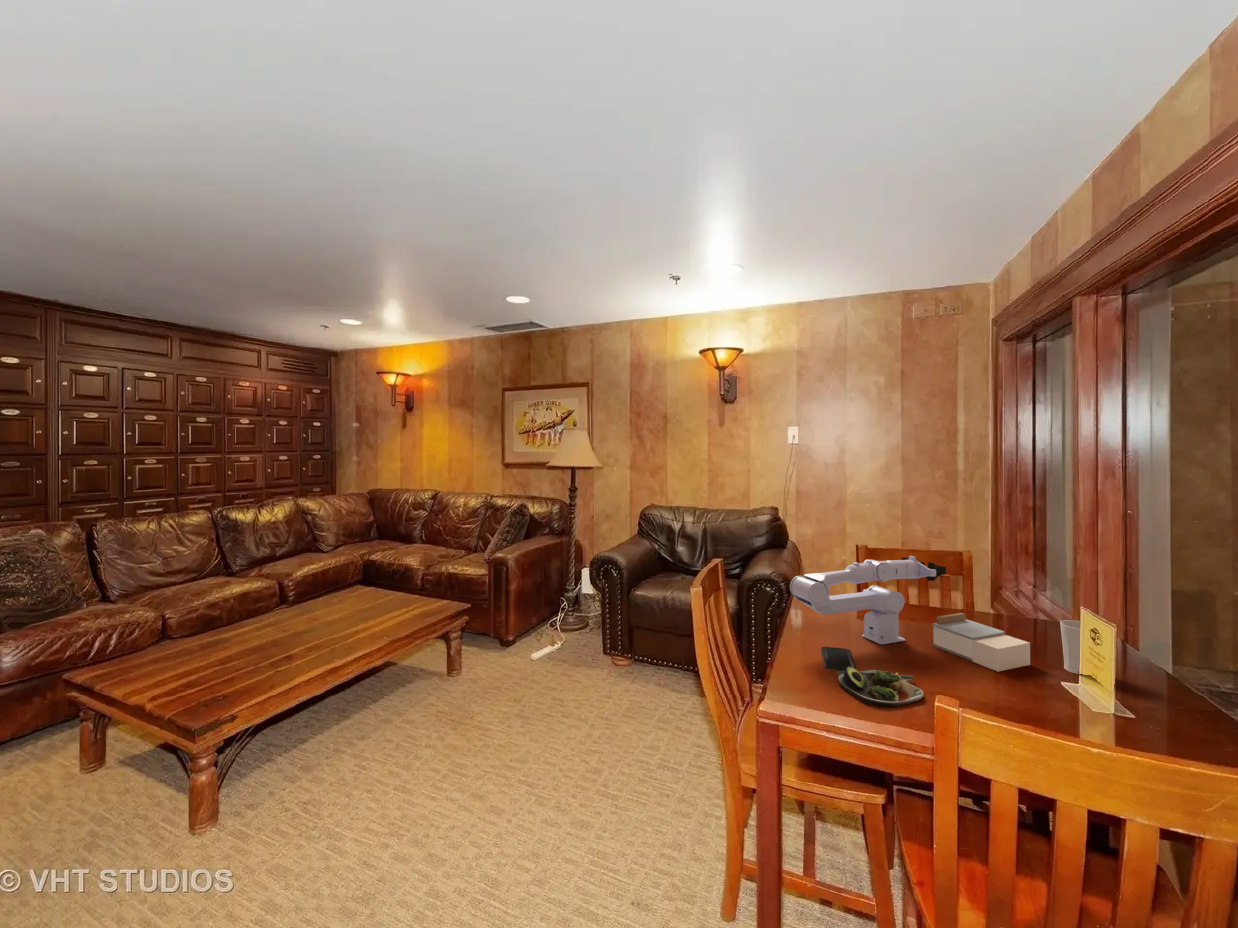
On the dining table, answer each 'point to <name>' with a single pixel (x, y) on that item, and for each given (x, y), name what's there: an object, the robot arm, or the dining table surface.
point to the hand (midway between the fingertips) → (934, 567)
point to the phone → (837, 658)
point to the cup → (1071, 644)
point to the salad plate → (878, 686)
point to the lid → (965, 626)
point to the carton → (985, 649)
